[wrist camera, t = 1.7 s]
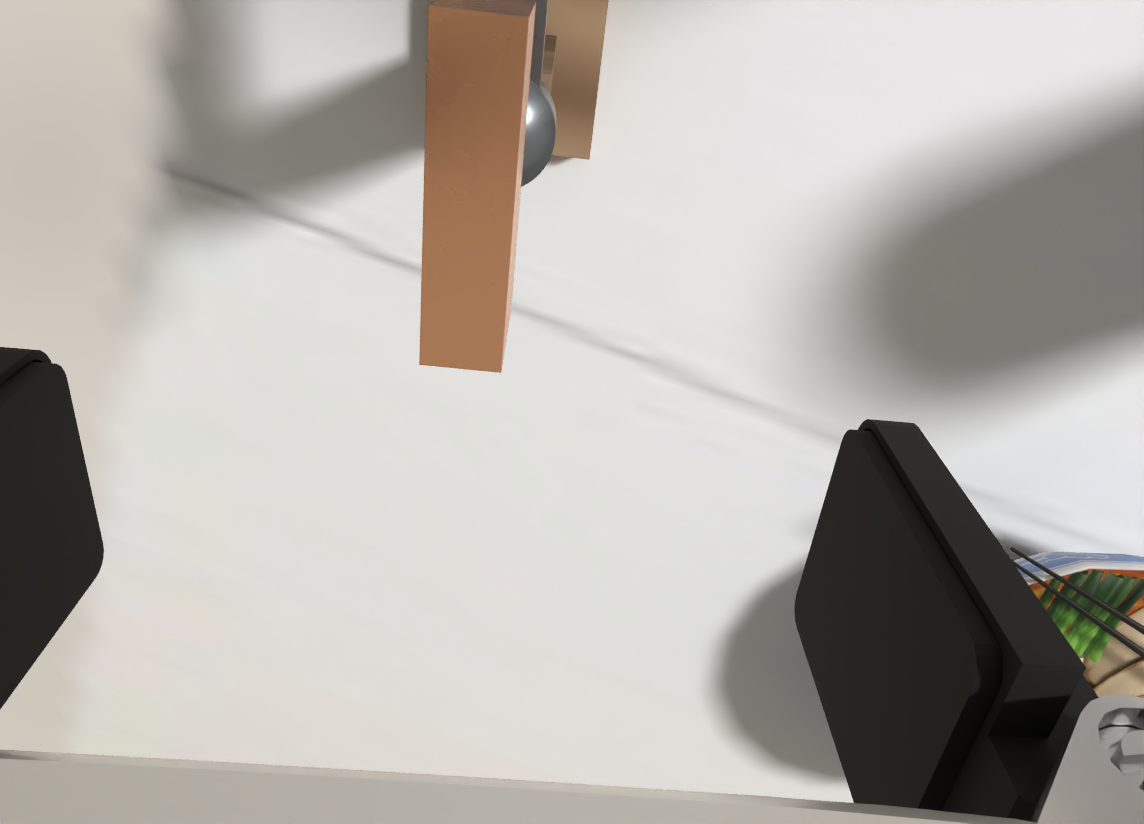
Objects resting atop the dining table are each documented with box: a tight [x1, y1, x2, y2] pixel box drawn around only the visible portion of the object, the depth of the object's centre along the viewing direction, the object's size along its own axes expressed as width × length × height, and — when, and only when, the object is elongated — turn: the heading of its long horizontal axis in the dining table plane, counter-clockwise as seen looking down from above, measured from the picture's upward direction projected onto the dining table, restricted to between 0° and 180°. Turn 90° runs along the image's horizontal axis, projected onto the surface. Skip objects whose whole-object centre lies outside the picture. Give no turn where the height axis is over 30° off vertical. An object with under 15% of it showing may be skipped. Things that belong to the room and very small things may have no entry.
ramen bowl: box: [1010, 547, 1144, 698], centre depth 52 cm, size 25×23×8 cm
